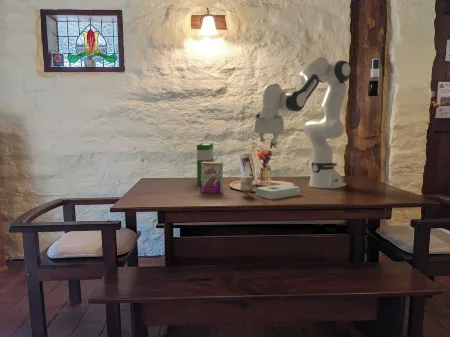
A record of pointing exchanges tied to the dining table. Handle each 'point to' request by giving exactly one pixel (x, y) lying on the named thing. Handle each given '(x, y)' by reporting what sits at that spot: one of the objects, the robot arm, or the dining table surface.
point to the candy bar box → (211, 177)
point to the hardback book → (203, 157)
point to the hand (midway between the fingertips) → (267, 142)
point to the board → (277, 191)
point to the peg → (246, 185)
